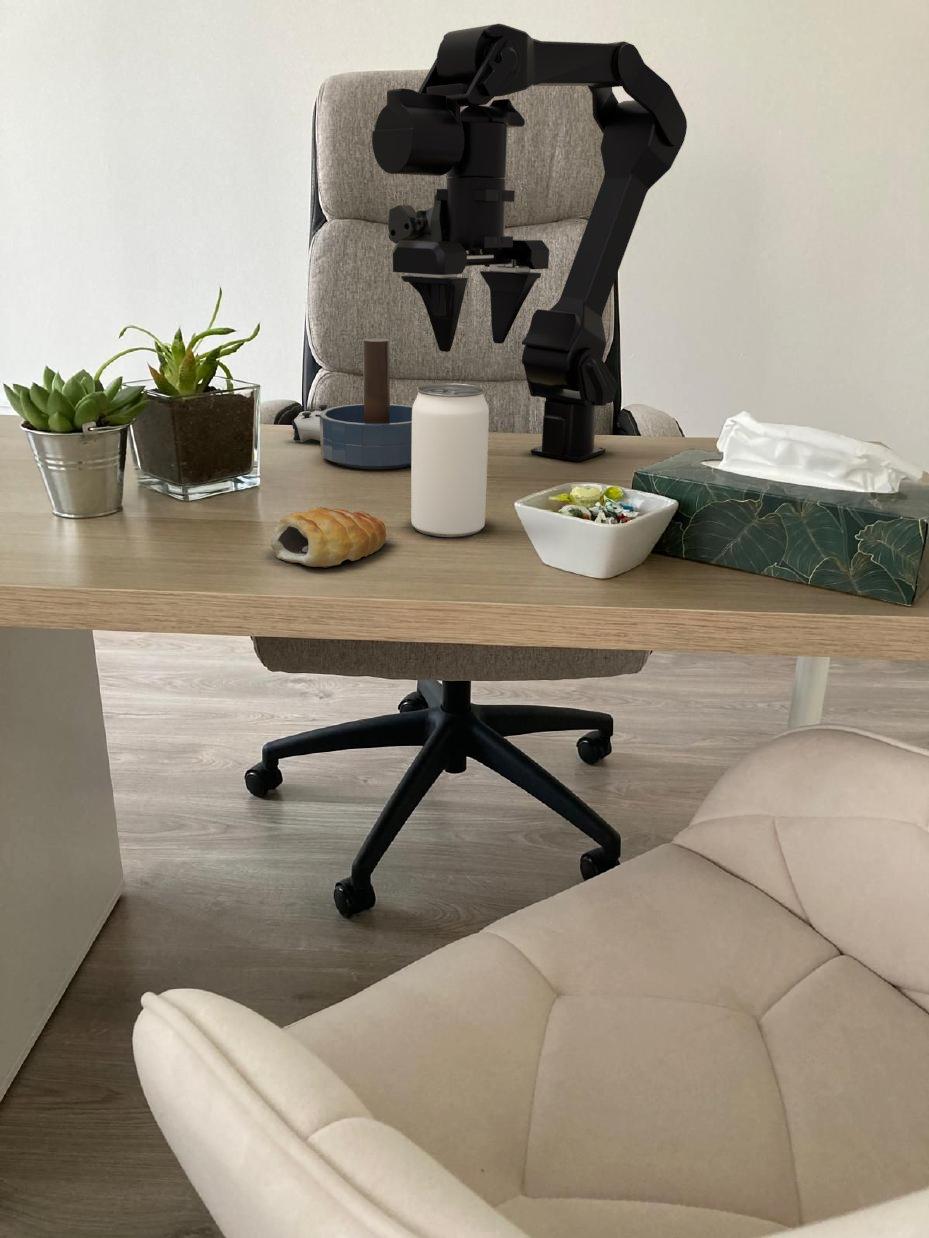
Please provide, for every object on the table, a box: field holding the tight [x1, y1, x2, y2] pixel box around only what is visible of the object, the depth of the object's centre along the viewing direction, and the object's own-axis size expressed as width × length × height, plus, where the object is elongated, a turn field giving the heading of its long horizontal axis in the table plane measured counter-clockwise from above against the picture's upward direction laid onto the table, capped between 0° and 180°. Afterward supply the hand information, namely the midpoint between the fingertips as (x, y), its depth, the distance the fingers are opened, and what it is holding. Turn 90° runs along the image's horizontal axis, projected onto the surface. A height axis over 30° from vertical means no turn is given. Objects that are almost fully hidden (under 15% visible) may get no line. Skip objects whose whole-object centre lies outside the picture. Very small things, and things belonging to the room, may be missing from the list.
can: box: [410, 382, 490, 539], centre depth 87 cm, size 6×6×12 cm
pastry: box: [270, 507, 387, 569], centre depth 82 cm, size 9×7×4 cm
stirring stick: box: [362, 337, 391, 424], centre depth 111 cm, size 4×4×12 cm
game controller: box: [291, 404, 328, 443], centre depth 123 cm, size 10×5×6 cm
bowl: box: [319, 403, 413, 470], centre depth 113 cm, size 12×12×5 cm
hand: (472, 347), depth 103 cm, fingers open, 9 cm apart
